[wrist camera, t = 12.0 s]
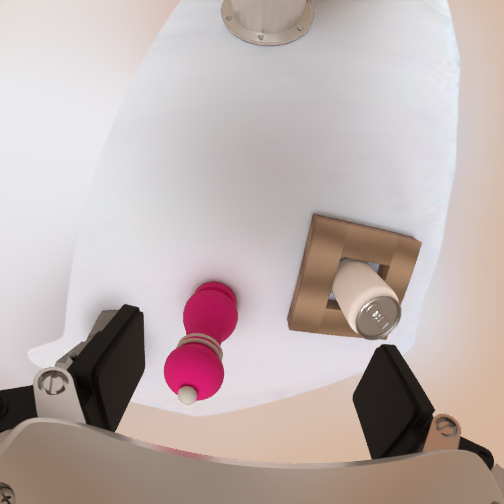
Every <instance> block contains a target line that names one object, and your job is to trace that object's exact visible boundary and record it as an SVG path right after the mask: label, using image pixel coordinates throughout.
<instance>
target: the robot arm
mask: <svg viewBox="0 0 504 504" xmlns="http://www.w3.org/2000/svg"><path fill="white" fill-rule="evenodd" d="M221 13H222V18H223V21H224V23H225V25H226V27H227V28H228V29H229V30H230V31H231V32H232V33H233V34H234V35H236V36H237V37H238V38H240V39H242V40H244V41H247V42H250V43H253V44H259V45H270V46H272V45H281V44H285V43H289V42H292V41H294V40H296V39H298V38H299V37H301V36H303V35H304V34H305V33H306V32H307V31H308V29H309V27H310V26H311V24H312V21H313V17H314V10H313V6H312V3H311V1H310V0H224V1H223V3H222V8H221ZM228 20H230V21H228ZM299 30H301V31H299ZM259 39H262V40H259ZM144 369H145V351H144V315H143V312H140V310H139V308H138V307H135V306H131V305H127V304H124V305H123V306H122V307H121V309H120V310H119V311H118V312H117V313H116V314H115V316H114V317H113V318H112V319H111V320H110V322H109V323H108V324H107V325H106V326H105V328H104V329H103V330H102V331H98V332H97V333H96V334H95V335H94V336H93V338H92V339H91V340H90V341H89V343H88V344H87V345H86V346H85V347H84V349H83V350H82V351H81V352H80V354H79V355H78V356H77V357H76V358H75V360H74V361H73V362H72V363H71V365H70V366H69V367H68V369H67V370H64V369H62V368H58V367H49V368H45V369H43V370H41V371H40V372H38V373H37V374H36V376H35V378H34V381H33V385H31V386H25V387H19V388H13V389H6V390H0V504H504V469H503V468H501V467H500V466H499V465H498V464H495V465H494V459H493V456H492V454H491V452H490V451H489V450H487V449H486V448H484V447H482V446H480V445H477V444H475V443H473V442H471V441H469V440H467V439H465V438H463V437H461V436H460V434H461V428H460V425H459V423H458V422H457V421H456V420H455V419H454V418H453V417H451V416H449V415H446V414H439V415H436V416H435V417H433V415H432V414H433V412H434V411H435V409H434V407H433V406H432V404H431V402H430V400H429V399H428V397H427V396H426V394H425V392H424V391H423V389H422V387H421V385H420V384H419V382H418V380H417V379H416V378H415V376H414V374H413V372H412V371H411V369H410V368H409V366H408V364H407V363H406V361H405V360H404V359H403V357H402V355H401V354H400V352H399V350H398V349H397V347H396V346H395V345H388V344H382V345H381V346H380V347H378V348H376V350H375V352H374V354H373V356H372V358H371V360H370V362H369V364H368V366H367V368H366V370H365V372H364V374H363V376H362V379H361V380H360V382H359V384H358V386H357V388H356V390H355V391H354V394H353V403H354V405H355V408H356V411H357V414H358V417H359V420H360V423H361V427H362V430H363V433H364V436H365V439H366V442H367V445H368V448H369V452H370V455H371V458H372V460H364V461H355V462H342V463H318V464H293V463H268V462H255V461H244V460H236V459H227V458H220V457H214V456H208V455H202V454H196V453H191V452H186V451H181V450H177V449H172V448H168V447H164V446H160V445H156V444H152V443H148V442H144V441H141V440H137V439H134V438H131V437H127V436H124V435H121V434H118V433H114V432H115V431H116V429H117V427H118V425H119V423H120V420H121V418H122V416H123V414H124V412H125V410H126V408H127V406H128V403H129V401H130V399H131V397H132V395H133V393H134V391H135V389H136V387H137V385H138V383H139V381H140V379H141V377H142V375H143V372H144ZM493 465H494V466H493Z"/></svg>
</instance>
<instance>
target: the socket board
mask: <svg viewBox="0 0 504 504" xmlns="http://www.w3.org/2000/svg"><path fill="white" fill-rule="evenodd" d="M421 244H422V242H420V241H418V240H416V239H415V238H413V237H410V236H406V235H402V234H398V233H394V232H390V231H386V230H382V229H378V228H373V227H369V226H365V225H361V224H356V223H352V222H347V221H343V220H338V219H334V218H329V217H324V216H320V215H315V214H313V217H312V222H311V226H310V231H309V235H308V239H307V243H306V248H305V252H304V256H303V260H302V264H301V268H300V272H299V276H298V280H297V284H296V288H295V292H294V296H293V299H292V303H291V307H290V311H289V314H288V318H287V321H288V327H289V330H294V331H302V332H310V333H318V334H327V335H337V336H347V337H358V338H362V337H361V336H360V335H359V334H358V333H356V332H355V331H354V330H353V329H352V328H351V327H350V325H349V323H348V321H347V319H346V317H345V316H344V314H343V312H342V310H341V308H340V306H339V304H338V302H337V301H335V300H328V299H329V296H330V292H331V289H332V286H333V282H334V279H335V276H336V272H337V269H338V265H339V262H340V258H341V257H346V258H351V259H357V260H362V261H367V262H372V263H378V264H380V266H379V270H378V273H377V274H378V275H379V276H380V277H381V278H382V279H383V281H384V282H385V283H386V284H387V285H388V286H389V287H390V288H391V289H392V290H393V291H394V293H395V294H396V296H397V298H398V301H399V304H400V305H401V303H402V300H403V298H404V295H405V292H406V290H407V287H408V284H409V281H410V278H411V276H412V273H413V270H414V267H415V264H416V260H417V257H418V254H419V251H420V247H421ZM387 336H388V335H387ZM387 336H385V337H383V338H381V339H384V340H386V339H387Z"/></svg>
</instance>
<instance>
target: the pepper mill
mask: <svg viewBox="0 0 504 504" xmlns="http://www.w3.org/2000/svg"><path fill="white" fill-rule="evenodd" d="M237 320H238V313H237V309H236V298H235V295H234V293H233V292H232V290H231V289H230V288H229V287H227V286H226V285H224V284H221V283H218V282H209V283H205V284H203V285H202V286H200V287H199V288H198V289H197V291H196V292H195V294H194V295H193V296H192V297H191V298H190V299H189V300H188V301H187V303H186V305H185V308H184V312H183V323H184V327H185V330H186V336H184V337H183V338H182V339H181V340H180V341H179V343H178V346H177V348H176V349H175V350H173V351H172V352H171V353H170V355H169V356H168V357H167V359H166V362H165V366H164V377H165V380H166V383H167V384H168V386H169V387H170V389H171V390H172V391H173V392H174V393H176V394H177V395H178V398H179V400H180V401H181V402H182V403H183V404H186V405H189V404H192V403H194V402H195V401H197V400H204V399H207V398H209V397H211V396H213V395H214V394H215V393H216V392H217V391H218V390H219V389H220V387H221V385H222V383H223V379H224V368H223V365H222V356H223V352H222V349H221V347H220V345H221V343H222V342H223V341H225V340H226V339H227V338H228V337H229V336H230V335H231V334H232V332H233V331H234V329H235V327H236V324H237Z"/></svg>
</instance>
